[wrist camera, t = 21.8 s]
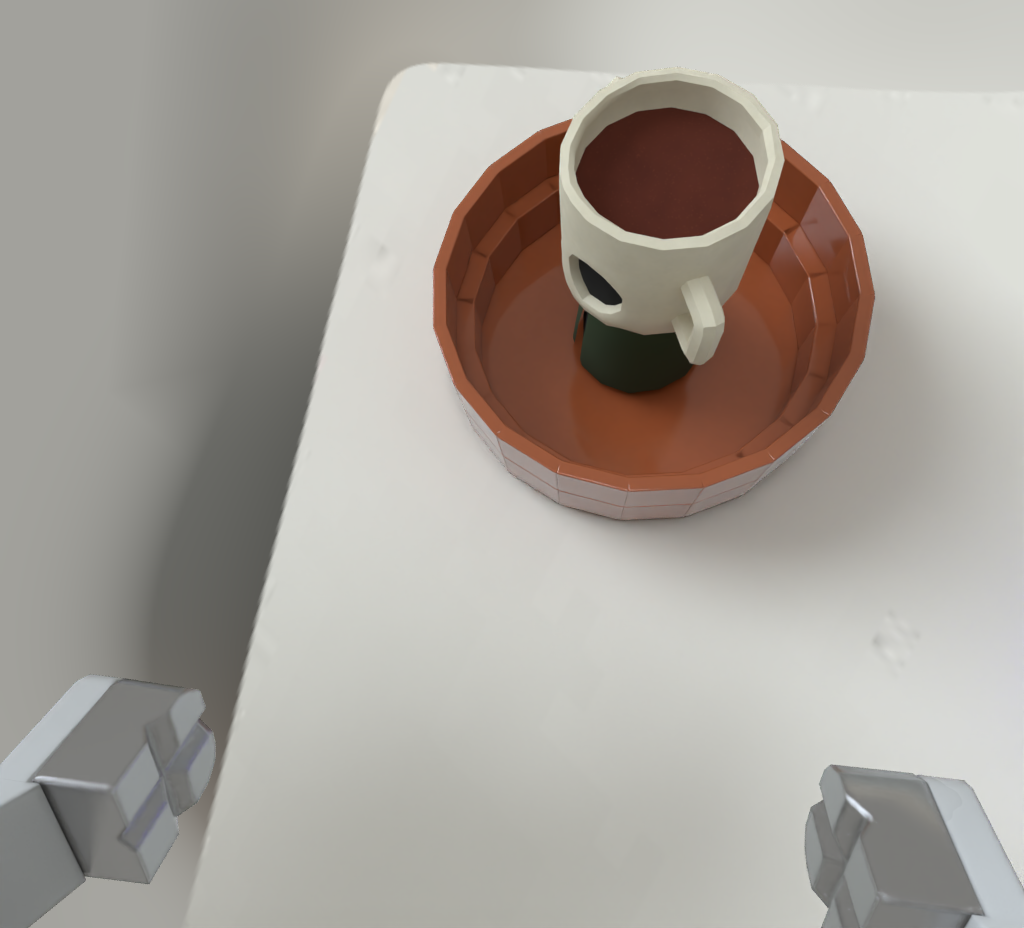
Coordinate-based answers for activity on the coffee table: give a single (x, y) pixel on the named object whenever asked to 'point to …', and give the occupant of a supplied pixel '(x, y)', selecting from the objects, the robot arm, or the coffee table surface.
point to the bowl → (657, 413)
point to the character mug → (662, 218)
